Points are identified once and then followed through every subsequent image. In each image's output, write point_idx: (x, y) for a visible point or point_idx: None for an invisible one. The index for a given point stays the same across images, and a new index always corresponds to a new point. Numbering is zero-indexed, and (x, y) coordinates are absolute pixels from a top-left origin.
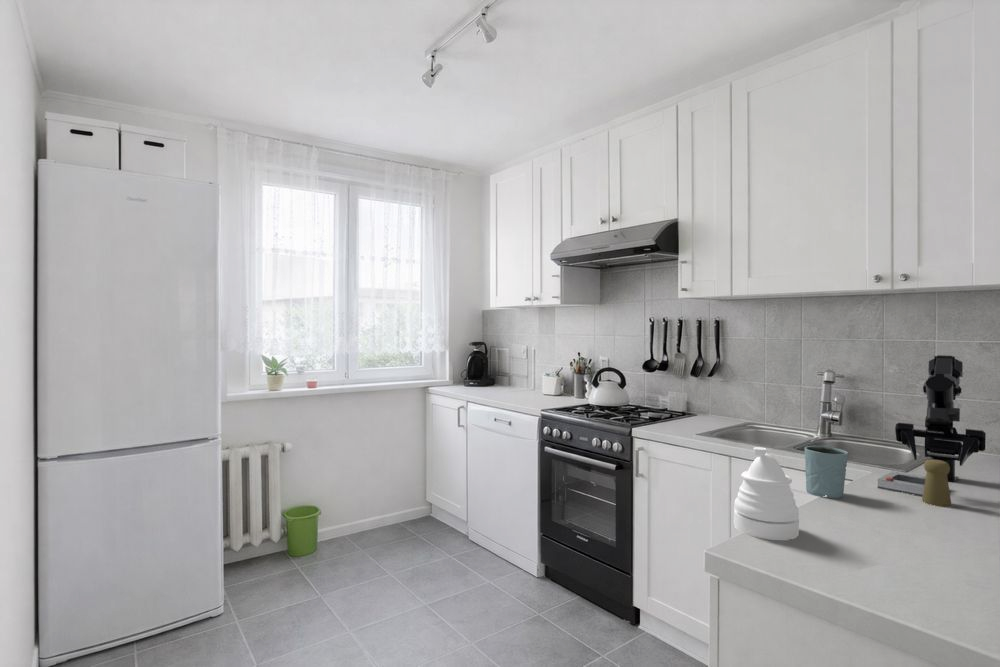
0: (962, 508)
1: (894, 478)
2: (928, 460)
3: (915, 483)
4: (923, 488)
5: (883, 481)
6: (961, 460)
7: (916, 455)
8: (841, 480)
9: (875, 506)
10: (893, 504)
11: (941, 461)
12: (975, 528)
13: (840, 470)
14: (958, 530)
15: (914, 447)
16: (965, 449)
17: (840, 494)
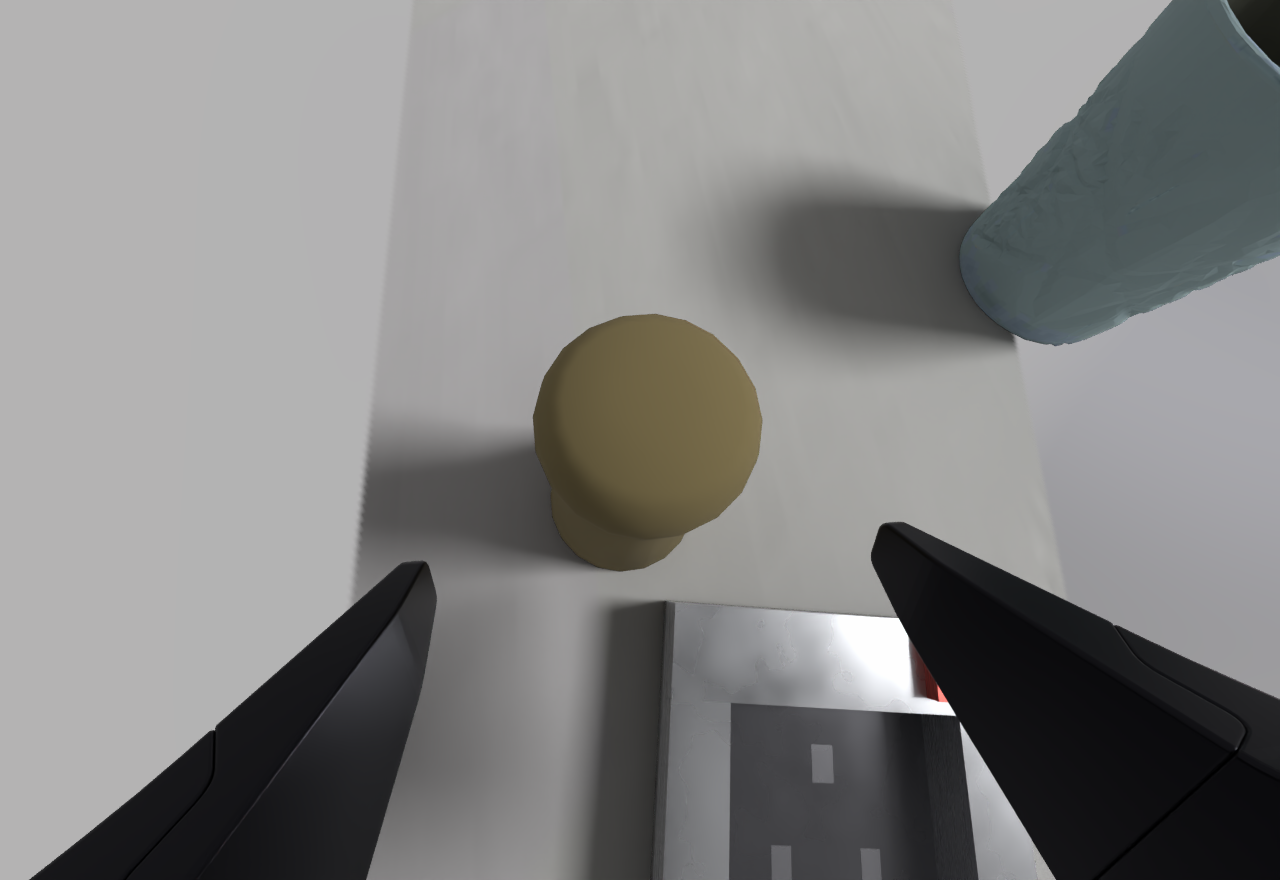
0: (499, 482)
1: (962, 875)
2: (732, 377)
3: (789, 704)
4: (718, 607)
5: None
6: (388, 589)
7: (907, 562)
8: (1029, 175)
9: (813, 221)
10: (772, 305)
11: (608, 380)
12: (450, 167)
13: (1089, 108)
14: (506, 106)
15: (1038, 608)
16: (177, 804)
17: (970, 238)
